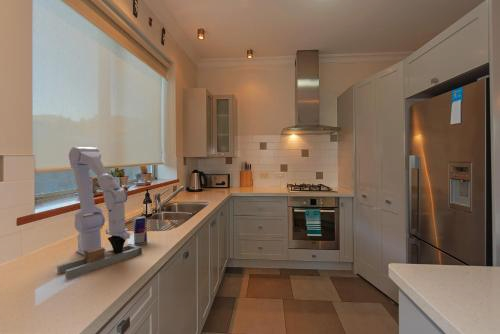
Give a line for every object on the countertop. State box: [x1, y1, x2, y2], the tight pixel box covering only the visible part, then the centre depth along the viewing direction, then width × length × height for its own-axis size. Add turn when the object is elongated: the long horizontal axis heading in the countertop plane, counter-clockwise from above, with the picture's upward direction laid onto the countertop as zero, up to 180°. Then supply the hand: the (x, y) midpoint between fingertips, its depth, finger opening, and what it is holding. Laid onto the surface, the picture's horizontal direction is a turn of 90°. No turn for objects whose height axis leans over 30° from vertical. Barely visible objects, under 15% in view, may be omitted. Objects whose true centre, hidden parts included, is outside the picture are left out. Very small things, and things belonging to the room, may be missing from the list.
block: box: [83, 246, 115, 264], centre depth 94 cm, size 4×9×6 cm, turn 145°
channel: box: [56, 243, 143, 280], centre depth 95 cm, size 9×26×2 cm, turn 145°
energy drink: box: [132, 215, 148, 246], centre depth 116 cm, size 5×5×12 cm
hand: (118, 254), depth 100 cm, fingers closed
